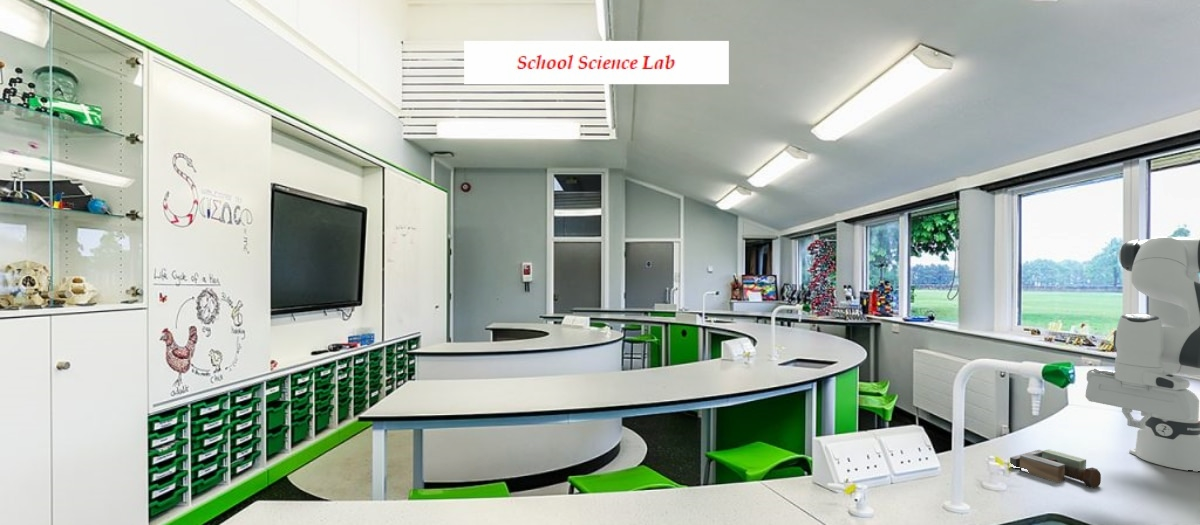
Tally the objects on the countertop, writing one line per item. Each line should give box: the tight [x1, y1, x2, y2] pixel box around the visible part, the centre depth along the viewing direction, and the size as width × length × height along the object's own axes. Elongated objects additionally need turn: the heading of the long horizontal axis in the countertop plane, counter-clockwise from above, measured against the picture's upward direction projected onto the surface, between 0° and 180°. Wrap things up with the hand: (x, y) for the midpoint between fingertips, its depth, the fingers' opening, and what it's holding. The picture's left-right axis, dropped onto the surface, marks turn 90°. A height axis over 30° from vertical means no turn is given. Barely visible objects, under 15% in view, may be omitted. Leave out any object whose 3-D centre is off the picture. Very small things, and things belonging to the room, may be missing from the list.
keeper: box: [1009, 449, 1087, 483], centre depth 152 cm, size 17×12×4 cm
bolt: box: [1037, 456, 1102, 489], centre depth 148 cm, size 6×5×15 cm
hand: (1136, 427), depth 136 cm, fingers closed
